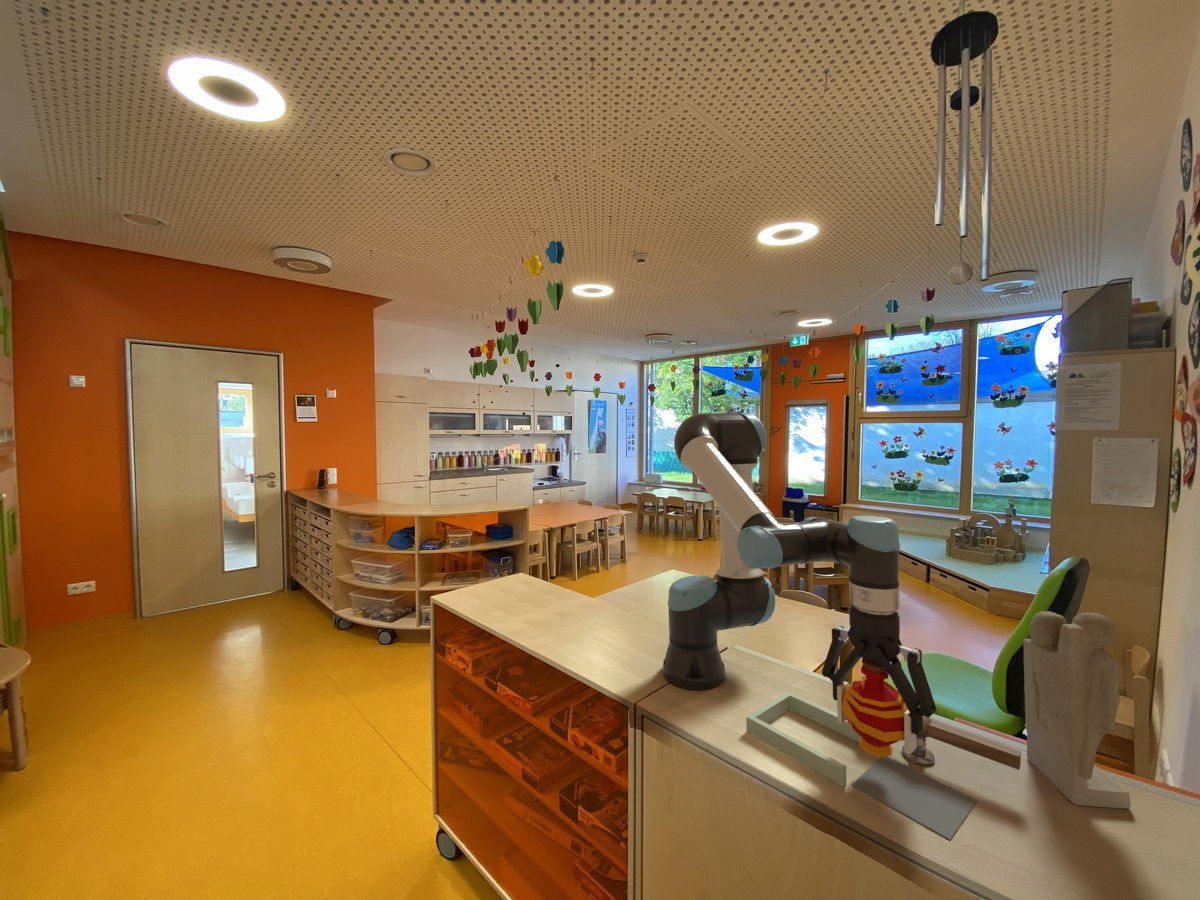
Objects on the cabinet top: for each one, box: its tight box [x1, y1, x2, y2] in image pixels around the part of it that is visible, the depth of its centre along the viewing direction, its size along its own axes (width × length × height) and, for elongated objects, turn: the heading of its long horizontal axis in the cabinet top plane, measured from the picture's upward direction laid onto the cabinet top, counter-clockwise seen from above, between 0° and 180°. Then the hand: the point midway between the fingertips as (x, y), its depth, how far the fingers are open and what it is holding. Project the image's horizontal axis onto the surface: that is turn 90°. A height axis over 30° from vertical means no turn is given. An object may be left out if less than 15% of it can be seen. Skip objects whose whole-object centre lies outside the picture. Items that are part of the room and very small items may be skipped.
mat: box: [851, 756, 978, 841], centre depth 79 cm, size 14×12×1 cm
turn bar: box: [916, 716, 1022, 771], centre depth 86 cm, size 4×23×2 cm, turn 44°
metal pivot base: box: [901, 736, 936, 767], centre depth 88 cm, size 5×5×4 cm
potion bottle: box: [842, 658, 908, 758], centre depth 83 cm, size 10×10×15 cm
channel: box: [745, 691, 862, 787], centre depth 93 cm, size 19×15×3 cm
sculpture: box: [1023, 610, 1131, 809], centre depth 79 cm, size 15×8×30 cm, turn 168°
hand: (875, 734), depth 83 cm, fingers closed on potion bottle, 10 cm apart
